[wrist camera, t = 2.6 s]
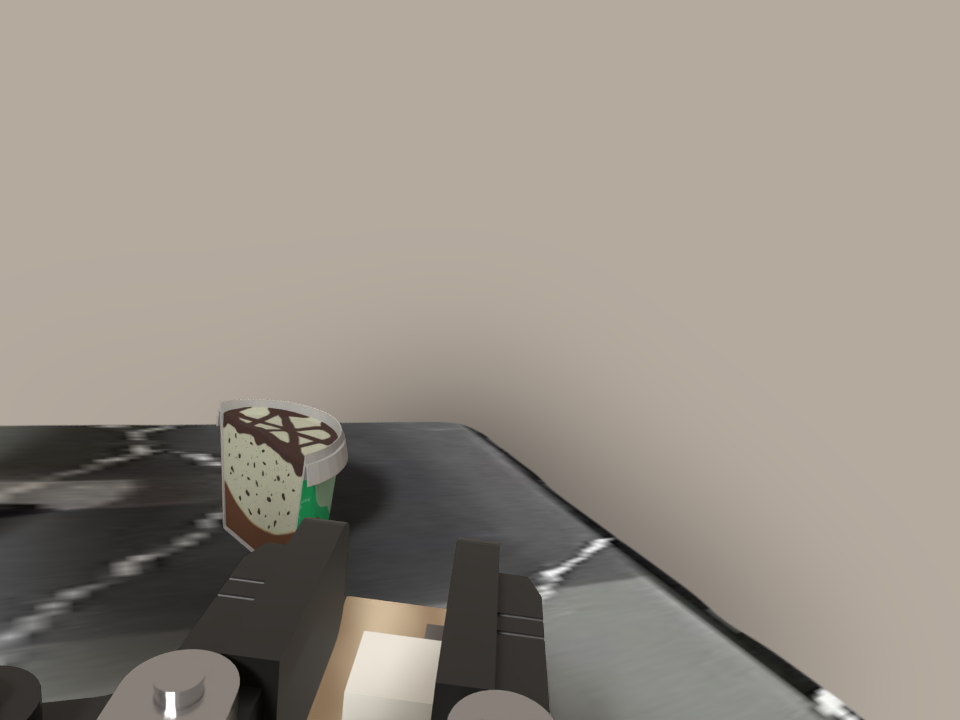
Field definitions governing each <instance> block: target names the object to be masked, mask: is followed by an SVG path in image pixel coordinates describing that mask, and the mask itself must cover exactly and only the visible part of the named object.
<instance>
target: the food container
mask: <svg viewBox="0 0 960 720" xmlns="http://www.w3.org/2000/svg"><path fill="white" fill-rule="evenodd" d="M216 425H217V426H221V464H222V503H223V528H224V529H225V530H226V531H227V532H228V533H230V534H231V535H232V536H233V537H234V538H236V539H237V540H238V541H239V542H240V543H241V544H243V545H244V546H245V547H246V548H247V549H248V550H250V551H251V552H252V551H254V550H256V549H257V548H259V547H261V546H262V545H264V544H265V543H267V542H270V543H278V544H285V545H287V544H288V543H289V541H290V539H291V538H292V536H293V534H294V533H295V531H296V529H297V528H298V526H299V525H300V523H301V521H302V520H303V518H305V517H310V518H317V519H325V520H329V515H330V509H331V503H332V496H333V490H334V484H335V478H336V474H338V473H339V472H340V471H341V470H342V469H343V468H344V467H345V465H346V463H347V460H348V453H347V446H346V440H345V435H344V433H343V431H342V428H341V425H340V423H339V422H338V421H337V420H336V419H335V418H334V417H333V416H331V415H330V414H328V413H326V412H324V411H322V410H320V409H317V408H314V407H311V406H307V405H303V404H299V403H293V402H287V401H280V400H279V401H278V400H267V399H266V400H265V399H243V400H231V401H223V402H220V409H219V410H218V416H217V424H216Z"/></svg>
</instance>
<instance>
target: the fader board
mask: <svg viewBox="0 0 960 720" xmlns="http://www.w3.org/2000/svg"><path fill="white" fill-rule="evenodd" d="M446 610H447V609H441V608H434V607H426V606H419V605H411V604H404V603H396V602H389V601H381V600H374V599H366V598H359V597H351V596H347V598H346V600H345V603H344V607H343V614H342V620H341V625H340V629H339V633H338V637H337V641H336V643H335V646H334V649H333V652H332V654H331V657H330V659H329V662H328V665H327V667H326V670H325V673H324V675H323V678H322V681H321V683H320V686H319V689H318V691H317V694H316V697H315V699H314V702H313V705H312V707H311V710H310V712H309V715H308V718H307V720H342V712H343V700H344V691H345V688H346V685H347V682H348V679H349V676H350V673H351V670H352V667H353V664H354V661H355V658H356V654H357V651H358V648H359V645H360V642H361V639H362V636H363V633H364V631H370V632H377V633H385V634H392V635H400V636H407V637H415V638H422V639H430V640H437V641H442V636H443V629H444V623H445V616H446Z"/></svg>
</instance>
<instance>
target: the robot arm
mask: <svg viewBox="0 0 960 720" xmlns="http://www.w3.org/2000/svg"><path fill="white" fill-rule="evenodd" d="M349 531H350V530H349V523H348V522H340V521H333V520H325V519H317V518H310V517H305V518H303V520H302V521H301V523H300V525H299V526H298V528H297V529H296V531H295V533H294V534H293V536H292V538H291V539H290V541H289V543H288V544H287V545H285V544H278V543H270V542H267V543H265V544H264V545H262V546H261V547H259V548H257V549H256V550H254V551H252V552H251V553H249V554H248V555H246V556H244V557H243V558H242V560H241V561H240V563H239V564H238V565H237V567H236V568H235V570H234V571H233V573H232V574H231V575H230V579H229V580H227V581H226V583H225V584H224V585H223V587H222V588H221V590H220V591H219V592H218V597H215V598H214V600H213V601H212V602H211V604H210V605H209V607H208V608H207V610H206V611H205V612H204V614H203V615H202V617H201V618H200V619H199V621H198V622H197V624H196V625H195V627H194V628H193V629H192V631H191V632H190V634H189V635H188V637H187V638H186V639H185V641H184V642H183V644H182V645H181V646H180V648H179V649H178V651H172V652H168V653H165V654H161V655H158V656H156V657H153V658H151V659H149V660H147V661H145V662H143V663H142V664H140V665H139V666H137V667H136V668H134V669H133V670H132V671H131V672H130V673H129V674H128V675H126V677H125V678H124V679H123V680H122V682H121V683H120V684H119V686H118V688H117V689H116V691H115V692H114V694H110V695H106V696H100V697H94V698H85V699H75V700H66V701H57V702H47V703H42V695H41V685H40V683H39V680H38V679H37V678H36V677H35V676H34V675H33V674H31V673H30V672H28V671H26V670H24V669H21V668H17V667H12V666H1V665H0V720H307V718H308V715H309V712H310V710H311V707H312V705H313V702H314V699H315V697H316V694H317V691H318V689H319V686H320V683H321V681H322V678H323V675H324V673H325V670H326V667H327V665H328V662H329V659H330V657H331V654H332V652H333V649H334V646H335V643H336V641H337V637H338V633H339V629H340V625H341V620H342V614H343V607H344V596H345V584H346V571H347V559H348V547H349ZM499 549H500V543H498V542H490V541H483V540H475V539H468V538H460V537H457V544H456V550H455V557H454V563H453V570H452V577H451V583H450V590H449V596H448V603H447V610H446V616H445V623H444V629H443V636H442V642H441V649H440V656H439V662H438V669H437V675H436V682H435V690H434V698H433V706H432V714H431V720H554V719H553V718H552V717H551V715H550V711H549V699H548V685H547V670H546V655H545V641H544V626H543V612H542V597H541V595H540V594H539V593H538V591H537V590H536V588H535V587H534V585H533V584H532V582H531V581H530V580H529V578H528V577H525V576H517V575H510V574H502V573H499Z"/></svg>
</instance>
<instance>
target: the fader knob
mask: <svg viewBox="0 0 960 720" xmlns="http://www.w3.org/2000/svg"><path fill="white" fill-rule="evenodd" d="M441 642H442V641H437V640H430V639H422V638H415V637H407V636H400V635H392V634H385V633H377V632H370V631H364V633H363V636H362V639H361V642H360V645H359V648H358V651H357V654H356V658H355V661H354V664H353V667H352V670H351V673H350V676H349V679H348V682H347V685H346V688H345V691H344V700H343V712H342V720H431V714H432V706H433V698H434V690H435V682H436V675H437V669H438V662H439V656H440V649H441Z"/></svg>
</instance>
